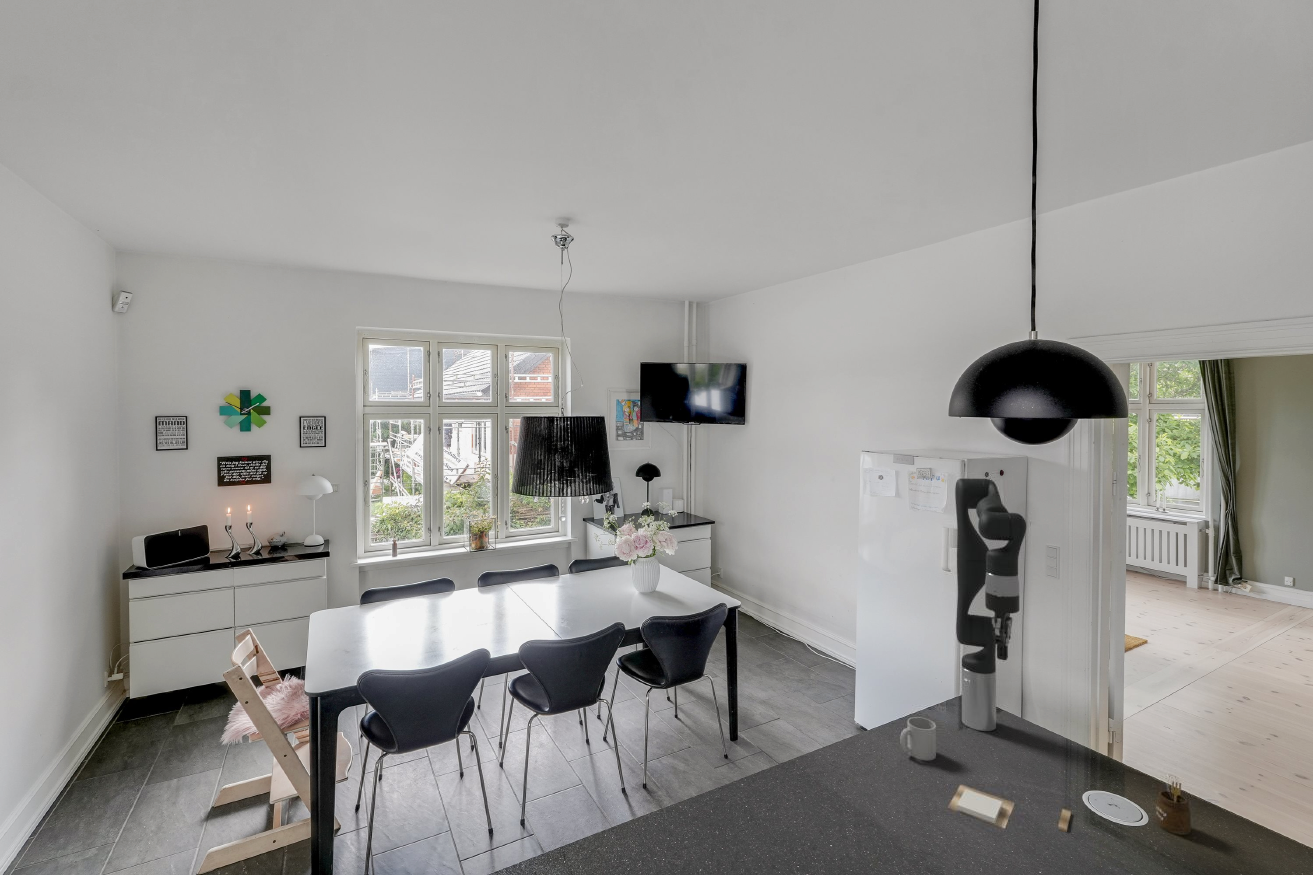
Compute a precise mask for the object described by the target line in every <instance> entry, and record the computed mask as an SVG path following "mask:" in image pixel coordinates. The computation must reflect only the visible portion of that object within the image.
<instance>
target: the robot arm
mask: <svg viewBox="0 0 1313 875" xmlns="http://www.w3.org/2000/svg"><path fill="white" fill-rule="evenodd" d="M954 494H955V495H954V497H955V499H954V500H955V510H956V511H955V512H956V528H957V529H956V530H957V532H956V534H957V535H956V540H957V541H956V574H957V575H956V576H957V578H956V580H957V602H956V606H957V607H956V621H955V622H956V623H955V624H956V625H955V626H956V627H955V631H956V632H955V634H956V638H957V639H956V640H957V642H958V643H959V644H960V645H965V646H971V647H978V648H982V649H980V650H978V651H975V652H970V653H966V654H964V655H962V658H961V722H962V723H963V724H964V725H965V726H966V727H968V728H970V729H973V730H976V731H982V732H991V731H995V730H996V729H997V668H996V667H997V664H996V661H997V660H996V658H997V659H998V660H1001V661H1007V660H1008V658H1009V644H1010V640H1011V638H1012V637H1011V634H1012V627H1013V621H1014V618H1013V617H1012V616H1011V615H1012V614H1017V613H1019V611H1020V580H1019V556H1020V551H1021V546H1022V545H1023V541H1024V538H1025V535H1026V532H1027V522H1026V520H1025V518H1024V517H1023V516H1022V514H1020V513H1017V512H1009V510H1008V509H1007V508H1006V507H1005V505H1004V504H1003V502H1002V498H1001V495H1000V493H999V490H998V486H997V484H996V483H995V481H993V479H990V478H959V479H957V480H956V482H955V488H954ZM969 510H975V511H976V516H977V517H978V526H977V528H978V531H977V529H976V528H975V526H974V524H973V522H972V520H971V518H970V517H971V516H970V514H969ZM984 539H985V540H989V541H1004V542H1005V541H1007V543H1006V544H1005V546H1003V547H997V548H992V549H989V547H988V545H987V544H986V542H985V540H984ZM983 588H984V591H985V592H984V593H985V594H984V596H985V597H984V602H985V603H984V604H985V608H986V609H987V610H989V611H992V612H994V616H988V615H978V614H970V613H969V610H970V607H971V605H972V603H973V601H974V600H975V598H976V596H977V595H978V593H980V591H981V590H982V589H983Z"/></svg>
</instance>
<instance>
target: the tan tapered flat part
mask: <svg viewBox="0 0 1313 875" xmlns="http://www.w3.org/2000/svg"><path fill="white" fill-rule="evenodd" d="M1071 815H1072V811H1071V810H1068V809H1065V808H1062V810H1061V813H1060V818H1059V822H1058V826H1057V829H1058V830H1060V831H1063V832H1066V833H1067V832H1068V829H1069V824H1070V819H1071Z"/></svg>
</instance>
